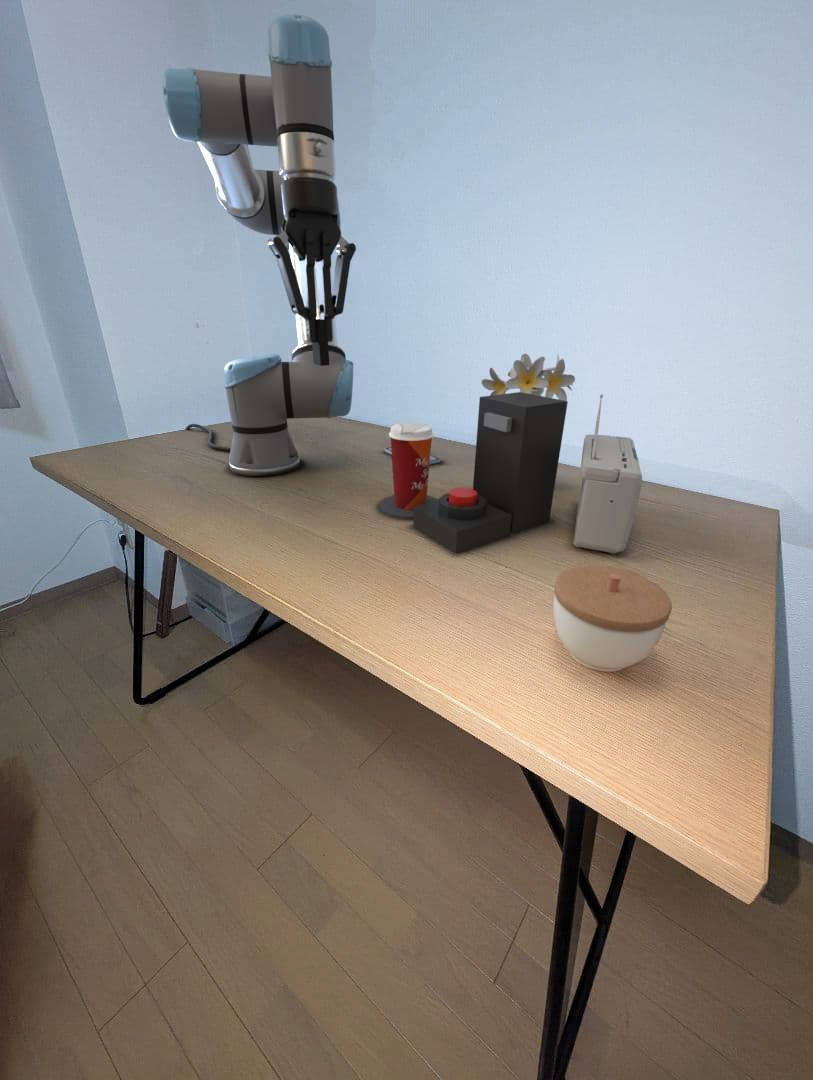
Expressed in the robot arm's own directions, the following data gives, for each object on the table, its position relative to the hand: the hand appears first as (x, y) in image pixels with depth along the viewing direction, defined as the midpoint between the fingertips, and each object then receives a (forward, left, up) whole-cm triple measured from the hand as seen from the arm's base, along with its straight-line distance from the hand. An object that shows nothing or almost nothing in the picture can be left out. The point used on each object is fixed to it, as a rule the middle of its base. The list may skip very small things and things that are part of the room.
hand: (321, 364), depth 75 cm
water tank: (+21, +24, -24) cm, 40 cm away
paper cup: (+8, +12, -24) cm, 28 cm away
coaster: (+8, +12, -24) cm, 28 cm away
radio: (+32, +33, -25) cm, 52 cm away
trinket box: (+52, +6, -25) cm, 58 cm away
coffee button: (+21, +13, -19) cm, 31 cm away
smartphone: (-18, +30, -24) cm, 43 cm away
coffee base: (+21, +13, -24) cm, 35 cm away
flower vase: (+10, +38, -25) cm, 46 cm away
